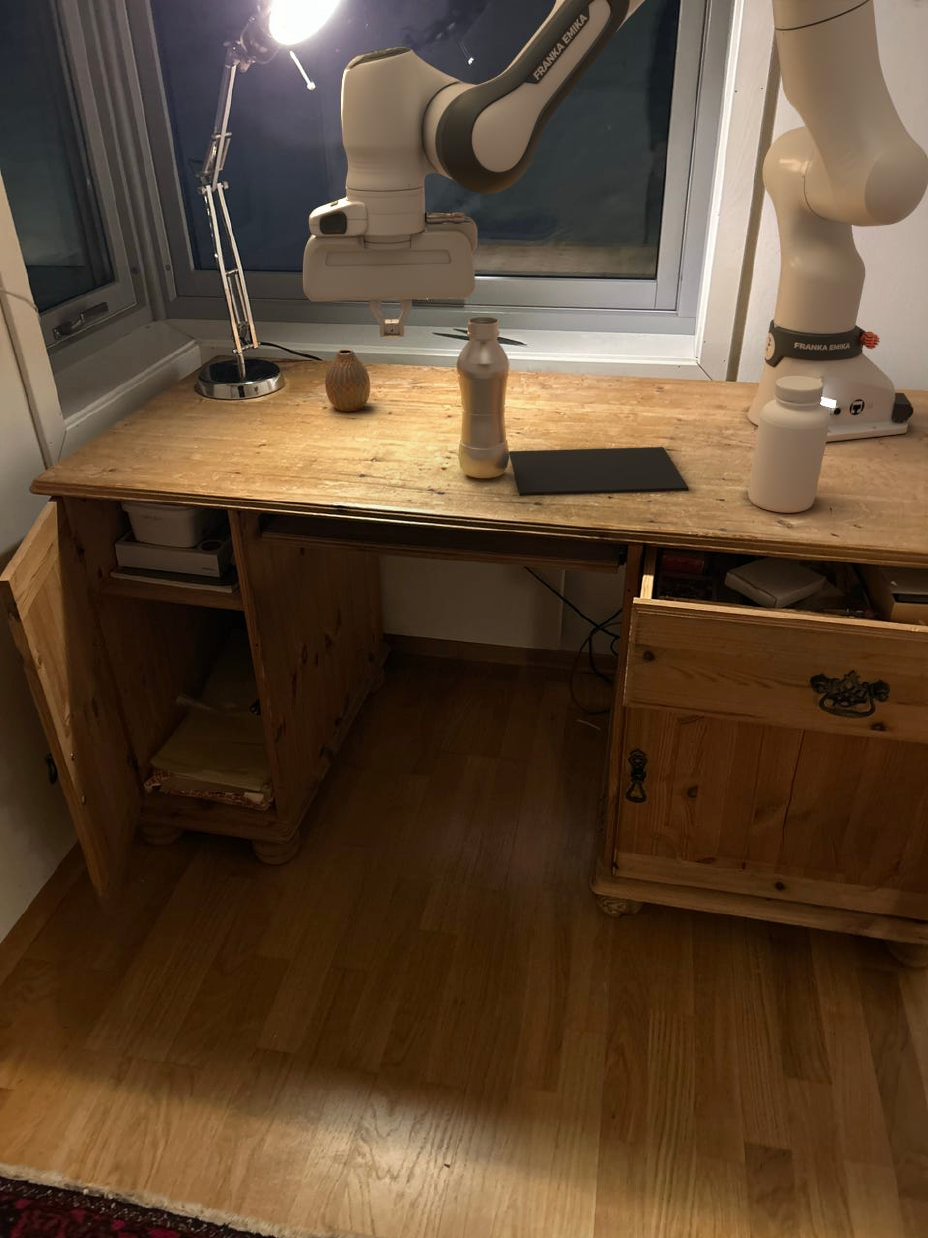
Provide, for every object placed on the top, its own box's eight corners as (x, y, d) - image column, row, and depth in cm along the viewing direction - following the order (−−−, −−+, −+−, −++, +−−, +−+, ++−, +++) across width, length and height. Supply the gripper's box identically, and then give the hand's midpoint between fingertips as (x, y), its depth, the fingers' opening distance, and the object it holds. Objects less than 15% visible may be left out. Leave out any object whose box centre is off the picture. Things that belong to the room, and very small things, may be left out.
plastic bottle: (504, 485, 123) (507, 328, 112) (453, 482, 124) (450, 326, 114) (512, 466, 128) (515, 314, 118) (463, 463, 129) (461, 312, 119)
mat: (662, 449, 133) (663, 446, 133) (688, 490, 121) (688, 487, 121) (509, 453, 132) (509, 451, 132) (519, 495, 120) (519, 492, 120)
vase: (320, 413, 147) (315, 356, 143) (336, 398, 153) (331, 343, 148) (363, 416, 146) (359, 359, 141) (377, 401, 151) (374, 346, 147)
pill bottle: (734, 501, 118) (752, 382, 110) (768, 482, 123) (787, 367, 115) (792, 520, 114) (815, 397, 106) (825, 500, 118) (850, 381, 110)
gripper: (475, 207, 112) (476, 327, 119) (300, 210, 111) (311, 331, 118) (479, 216, 107) (479, 341, 114) (295, 219, 106) (306, 345, 113)
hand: (392, 336), depth 116 cm, fingers closed
